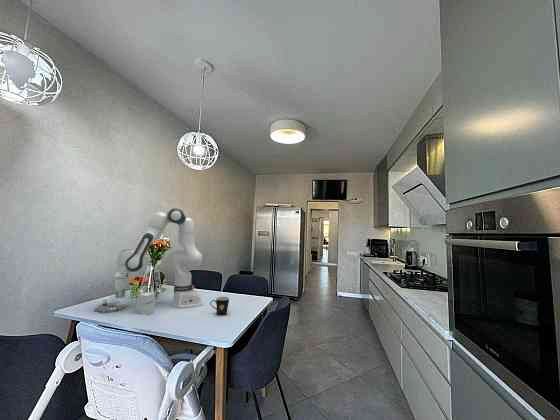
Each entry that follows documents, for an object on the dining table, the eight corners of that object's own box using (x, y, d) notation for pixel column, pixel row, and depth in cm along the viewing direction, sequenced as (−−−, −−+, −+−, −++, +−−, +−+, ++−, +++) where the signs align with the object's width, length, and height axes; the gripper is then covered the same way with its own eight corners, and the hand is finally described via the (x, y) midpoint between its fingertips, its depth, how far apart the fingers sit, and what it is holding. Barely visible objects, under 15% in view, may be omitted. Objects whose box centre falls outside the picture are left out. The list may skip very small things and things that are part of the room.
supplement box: (143, 316, 147) (145, 295, 148) (135, 314, 150) (137, 294, 151) (153, 313, 154) (155, 293, 155) (145, 311, 156) (147, 291, 158)
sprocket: (113, 303, 164) (114, 296, 164) (130, 307, 158) (131, 300, 159) (89, 310, 150) (90, 302, 150) (107, 314, 144) (108, 306, 144)
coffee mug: (230, 312, 160) (231, 297, 161) (223, 316, 152) (224, 301, 153) (216, 310, 164) (217, 295, 165) (208, 314, 156) (209, 298, 157)
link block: (125, 296, 160) (126, 289, 161) (124, 297, 157) (124, 290, 158) (116, 296, 159) (117, 289, 159) (115, 298, 155) (116, 290, 156)
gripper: (121, 271, 168) (118, 291, 166) (114, 276, 149) (111, 298, 148) (131, 271, 170) (129, 290, 169) (125, 276, 152) (123, 298, 150)
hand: (120, 294), depth 158 cm, fingers closed on link block, 3 cm apart
